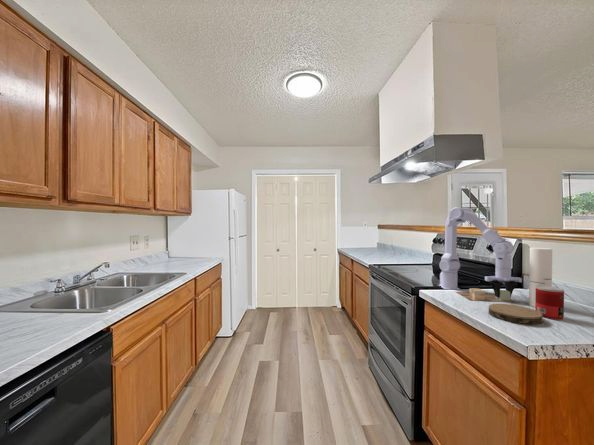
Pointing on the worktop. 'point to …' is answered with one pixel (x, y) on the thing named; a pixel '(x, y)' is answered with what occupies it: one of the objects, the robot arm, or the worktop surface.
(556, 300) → the canned food
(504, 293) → the sage cube
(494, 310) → the wood slice
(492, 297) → the brown flat board
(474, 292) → the maple brick
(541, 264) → the cylindrical container
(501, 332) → the worktop surface
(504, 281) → the robot arm
